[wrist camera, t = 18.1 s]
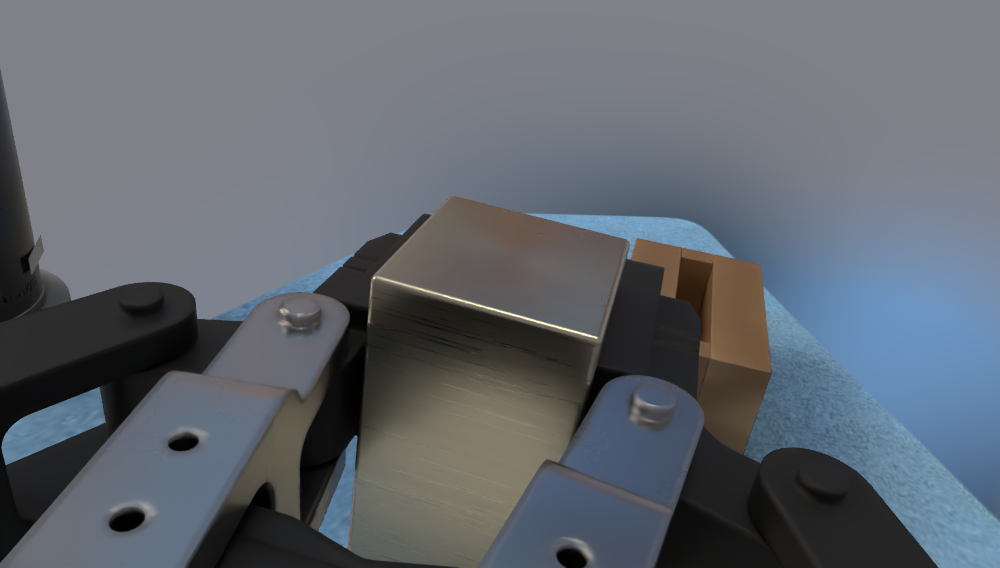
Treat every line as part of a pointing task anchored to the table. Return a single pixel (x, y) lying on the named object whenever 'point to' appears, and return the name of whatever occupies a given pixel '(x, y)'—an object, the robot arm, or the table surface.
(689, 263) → the knife block
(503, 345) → the knife
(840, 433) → the table surface
